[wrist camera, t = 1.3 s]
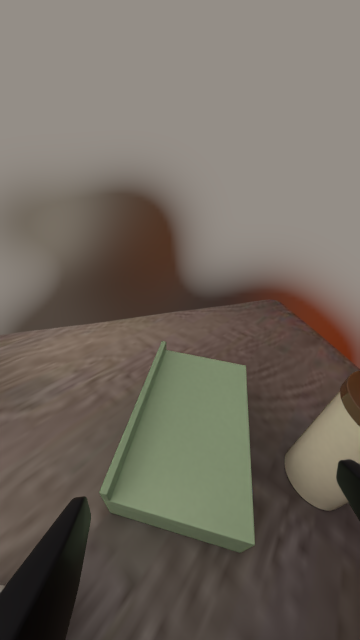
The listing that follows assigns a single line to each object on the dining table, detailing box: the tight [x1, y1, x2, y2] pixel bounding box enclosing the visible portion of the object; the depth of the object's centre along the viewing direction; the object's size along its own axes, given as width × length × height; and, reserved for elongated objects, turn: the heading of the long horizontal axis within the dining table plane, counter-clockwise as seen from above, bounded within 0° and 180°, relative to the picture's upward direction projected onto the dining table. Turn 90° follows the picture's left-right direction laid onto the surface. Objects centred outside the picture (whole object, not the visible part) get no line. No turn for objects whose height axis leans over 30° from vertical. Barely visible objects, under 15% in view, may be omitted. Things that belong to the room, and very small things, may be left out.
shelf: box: [99, 341, 255, 553], centre depth 22 cm, size 16×11×6 cm
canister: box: [285, 371, 360, 511], centre depth 17 cm, size 6×6×12 cm
